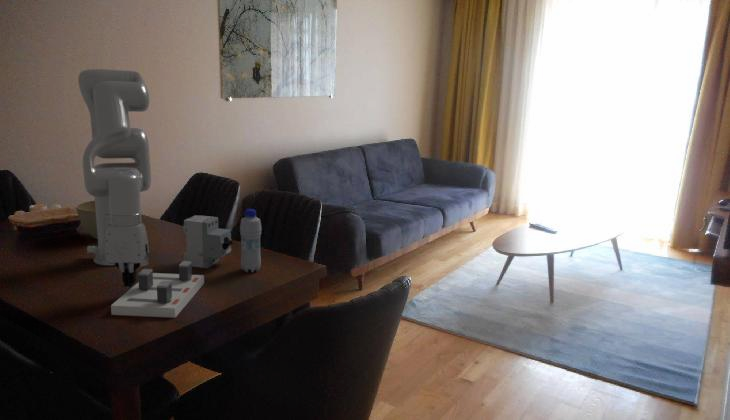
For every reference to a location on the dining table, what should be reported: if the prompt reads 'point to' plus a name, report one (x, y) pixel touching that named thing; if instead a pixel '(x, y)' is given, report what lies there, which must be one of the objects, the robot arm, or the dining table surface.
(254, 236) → the bottle
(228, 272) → the dining table surface
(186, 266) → the block
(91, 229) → the olive rounded bowl
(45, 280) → the dining table surface
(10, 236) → the dining table surface
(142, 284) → the block
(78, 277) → the dining table surface
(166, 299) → the block
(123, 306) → the breaker panel
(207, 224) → the circuit breaker
